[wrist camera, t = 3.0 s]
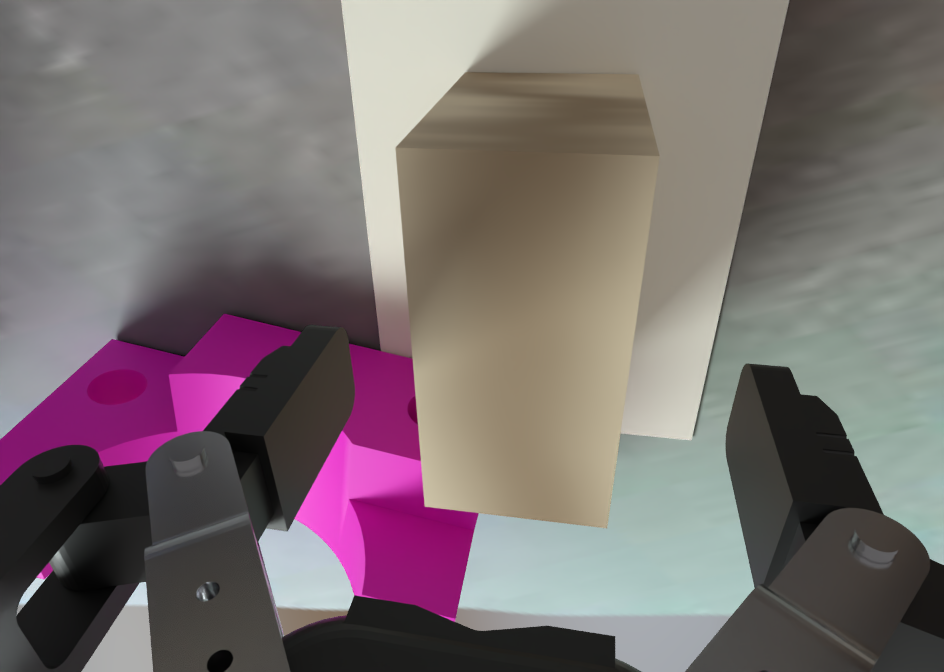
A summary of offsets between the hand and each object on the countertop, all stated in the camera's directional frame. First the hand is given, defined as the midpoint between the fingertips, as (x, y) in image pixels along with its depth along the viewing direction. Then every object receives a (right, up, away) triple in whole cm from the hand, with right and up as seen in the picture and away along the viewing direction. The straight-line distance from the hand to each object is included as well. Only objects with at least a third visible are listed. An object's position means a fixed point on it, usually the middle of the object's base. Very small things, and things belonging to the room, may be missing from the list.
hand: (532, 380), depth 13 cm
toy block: (-8, -1, +11) cm, 14 cm away
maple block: (+1, +4, +6) cm, 7 cm away
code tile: (+1, +4, +6) cm, 7 cm away
